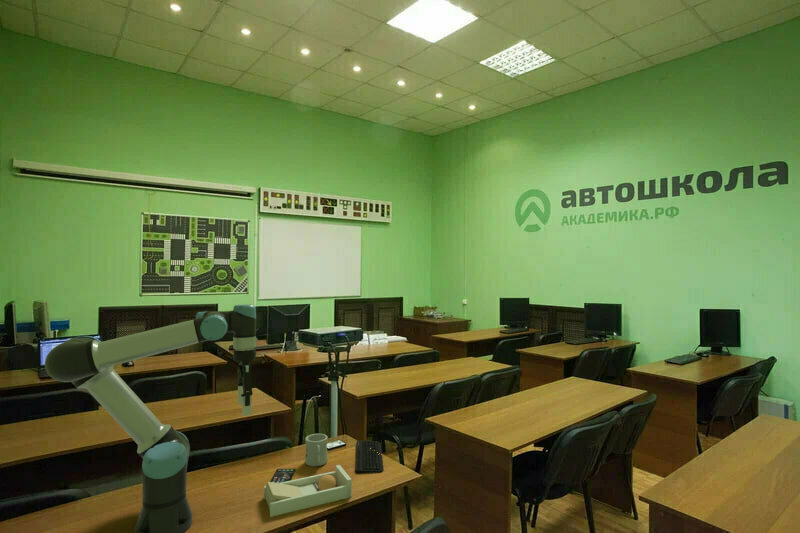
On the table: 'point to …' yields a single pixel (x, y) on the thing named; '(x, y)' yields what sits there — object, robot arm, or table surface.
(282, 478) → the smartphone
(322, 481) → the ball
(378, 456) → the keyboard
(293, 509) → the lane
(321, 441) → the mug
